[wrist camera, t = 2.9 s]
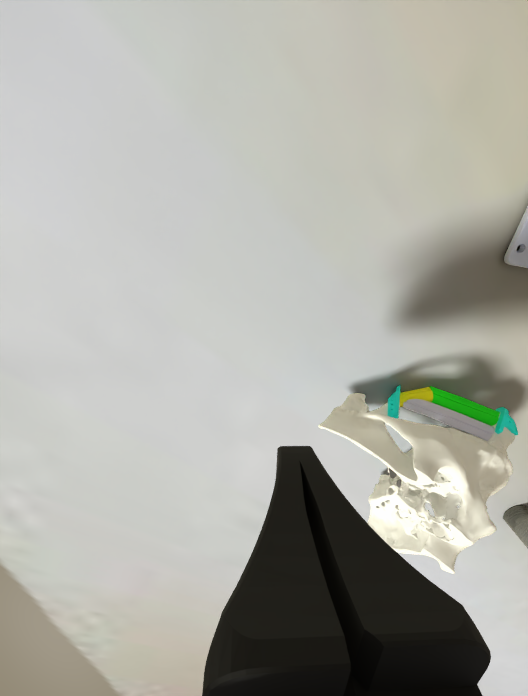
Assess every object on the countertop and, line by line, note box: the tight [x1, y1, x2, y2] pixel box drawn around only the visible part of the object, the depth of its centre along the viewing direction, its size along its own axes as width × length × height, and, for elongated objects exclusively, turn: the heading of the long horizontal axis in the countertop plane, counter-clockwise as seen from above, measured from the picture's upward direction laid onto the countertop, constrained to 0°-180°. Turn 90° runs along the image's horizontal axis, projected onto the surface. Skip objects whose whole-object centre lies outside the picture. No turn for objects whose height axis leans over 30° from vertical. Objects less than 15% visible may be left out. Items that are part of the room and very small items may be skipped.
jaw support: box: [318, 385, 518, 574], centre depth 21 cm, size 12×9×10 cm
